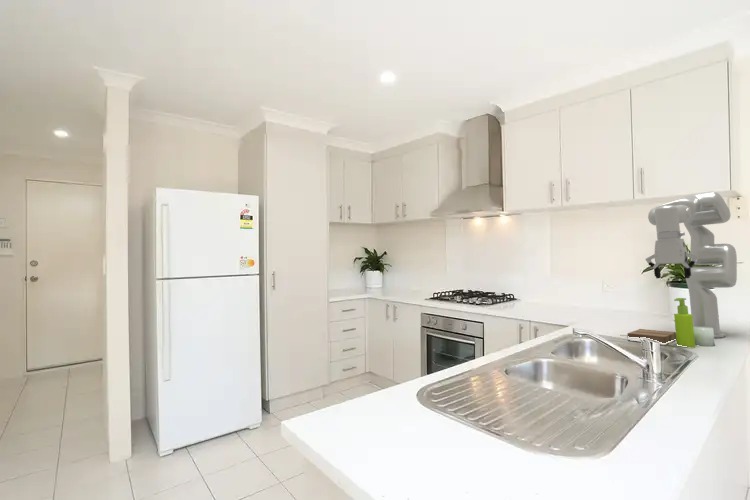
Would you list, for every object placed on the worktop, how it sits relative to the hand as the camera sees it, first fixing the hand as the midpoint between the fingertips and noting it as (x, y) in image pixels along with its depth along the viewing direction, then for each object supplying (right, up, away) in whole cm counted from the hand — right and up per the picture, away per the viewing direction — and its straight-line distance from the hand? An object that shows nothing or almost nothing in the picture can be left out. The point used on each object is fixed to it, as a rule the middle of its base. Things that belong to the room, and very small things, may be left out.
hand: (672, 278), depth 153 cm
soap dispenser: (+8, -29, +3) cm, 30 cm away
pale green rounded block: (+17, -28, +5) cm, 33 cm away
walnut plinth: (+4, -29, +16) cm, 34 cm away
